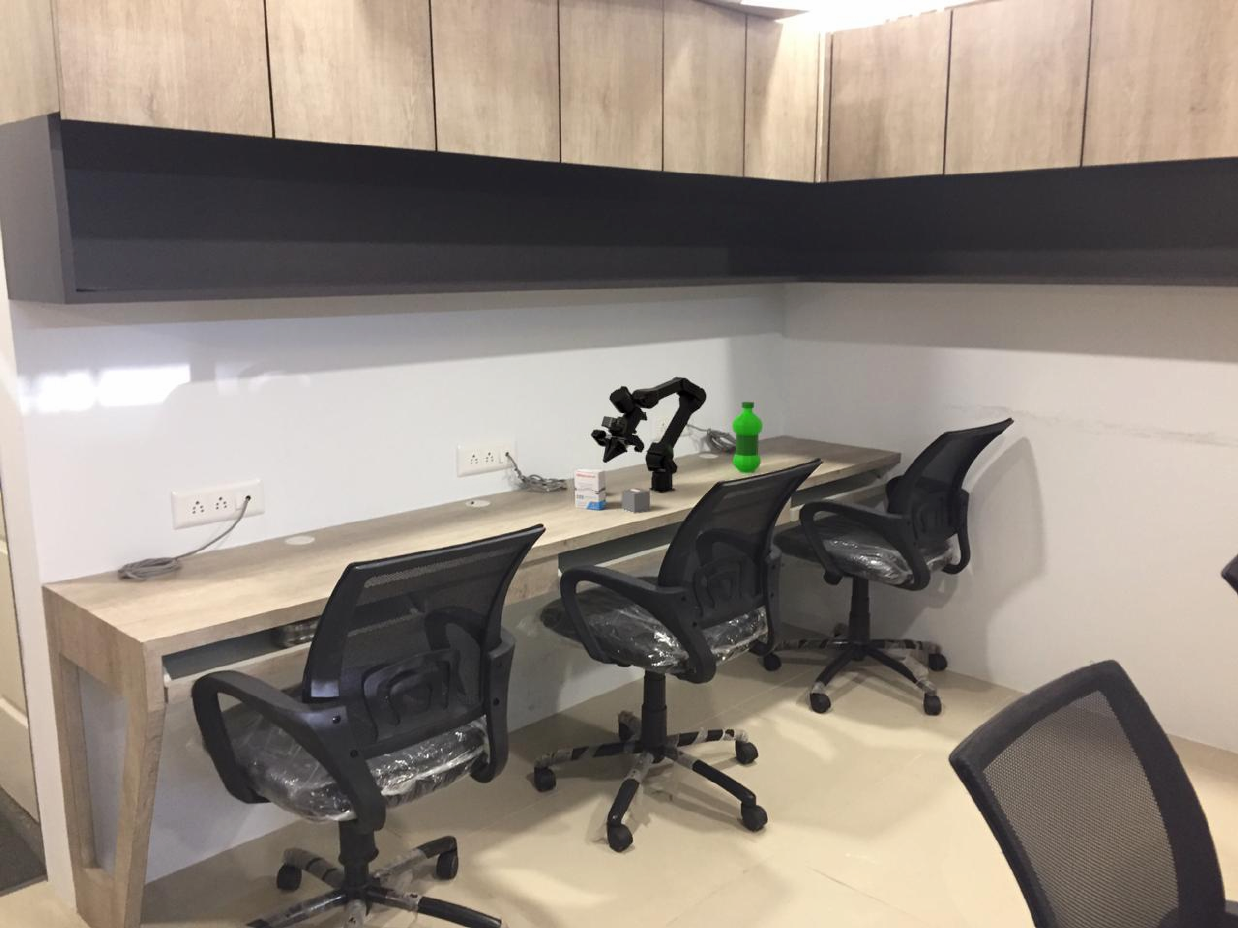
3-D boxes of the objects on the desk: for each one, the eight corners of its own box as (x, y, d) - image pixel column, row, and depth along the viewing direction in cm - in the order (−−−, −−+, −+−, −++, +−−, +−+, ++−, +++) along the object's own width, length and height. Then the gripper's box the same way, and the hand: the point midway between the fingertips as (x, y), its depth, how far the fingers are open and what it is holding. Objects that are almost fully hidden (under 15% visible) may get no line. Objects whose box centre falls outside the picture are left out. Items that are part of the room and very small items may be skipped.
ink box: (606, 507, 302) (606, 469, 300) (598, 511, 298) (598, 472, 296) (582, 504, 306) (581, 467, 304) (574, 508, 302) (573, 470, 300)
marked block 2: (637, 507, 303) (637, 487, 302) (649, 510, 298) (649, 490, 297) (621, 509, 299) (621, 489, 298) (634, 513, 295) (634, 493, 294)
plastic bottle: (761, 474, 351) (763, 404, 346) (731, 473, 352) (733, 404, 347) (760, 468, 360) (762, 400, 356) (731, 468, 362) (733, 400, 357)
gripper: (594, 403, 311) (569, 442, 305) (638, 409, 298) (613, 449, 292) (612, 425, 318) (588, 464, 312) (655, 432, 305) (631, 472, 299)
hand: (604, 462), depth 304 cm, fingers closed
